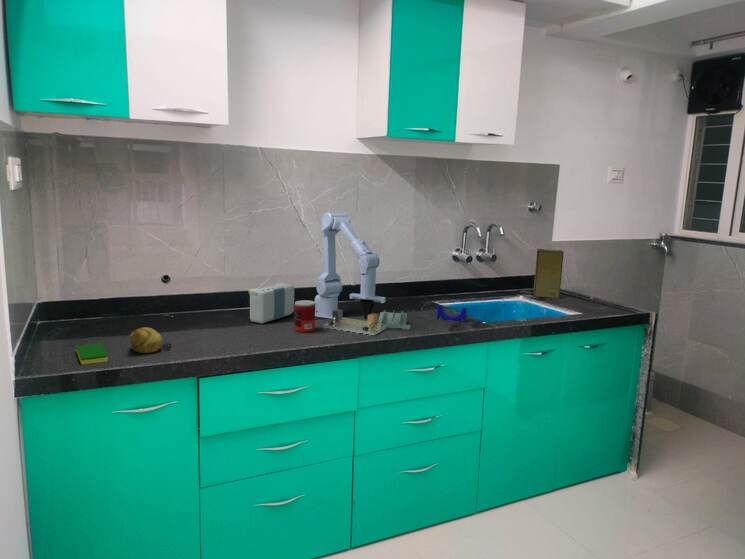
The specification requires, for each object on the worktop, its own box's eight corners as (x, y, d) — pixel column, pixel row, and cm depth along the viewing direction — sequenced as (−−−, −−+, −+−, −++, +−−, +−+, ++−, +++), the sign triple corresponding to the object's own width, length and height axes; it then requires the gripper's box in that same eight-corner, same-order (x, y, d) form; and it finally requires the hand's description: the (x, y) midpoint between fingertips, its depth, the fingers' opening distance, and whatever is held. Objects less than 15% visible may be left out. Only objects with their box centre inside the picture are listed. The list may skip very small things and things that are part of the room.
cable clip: (466, 320, 238) (467, 306, 237) (464, 322, 234) (465, 309, 233) (438, 317, 242) (439, 303, 241) (436, 319, 238) (437, 305, 237)
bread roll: (130, 344, 185) (129, 321, 184) (161, 342, 189) (160, 319, 188) (130, 356, 174) (129, 331, 173) (163, 353, 178) (163, 329, 176)
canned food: (318, 329, 214) (318, 301, 212) (309, 334, 207) (309, 305, 205) (300, 326, 216) (300, 299, 215) (290, 331, 209) (291, 303, 207)
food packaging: (558, 295, 302) (562, 249, 298) (559, 298, 293) (564, 251, 289) (532, 293, 305) (536, 248, 301) (533, 296, 296) (537, 250, 292)
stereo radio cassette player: (263, 325, 217) (263, 274, 213) (246, 322, 221) (246, 272, 217) (294, 315, 235) (295, 268, 232) (279, 312, 239) (279, 266, 235)
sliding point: (366, 326, 215) (366, 315, 214) (371, 323, 219) (371, 312, 218) (372, 327, 214) (372, 316, 213) (377, 324, 218) (377, 313, 217)
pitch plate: (322, 327, 216) (322, 314, 215) (336, 321, 227) (337, 308, 226) (374, 335, 208) (374, 321, 207) (386, 328, 219) (387, 315, 218)
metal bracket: (375, 306, 232) (411, 309, 230) (375, 319, 234) (411, 321, 233) (372, 324, 219) (410, 326, 217) (371, 336, 221) (409, 339, 220)
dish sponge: (81, 366, 164) (81, 358, 164) (76, 353, 176) (76, 345, 175) (107, 362, 168) (107, 355, 168) (101, 350, 180) (101, 343, 179)
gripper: (346, 284, 214) (345, 318, 217) (381, 288, 209) (379, 323, 211) (354, 281, 221) (353, 314, 223) (388, 285, 215) (386, 319, 217)
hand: (366, 318), depth 217 cm, fingers closed
